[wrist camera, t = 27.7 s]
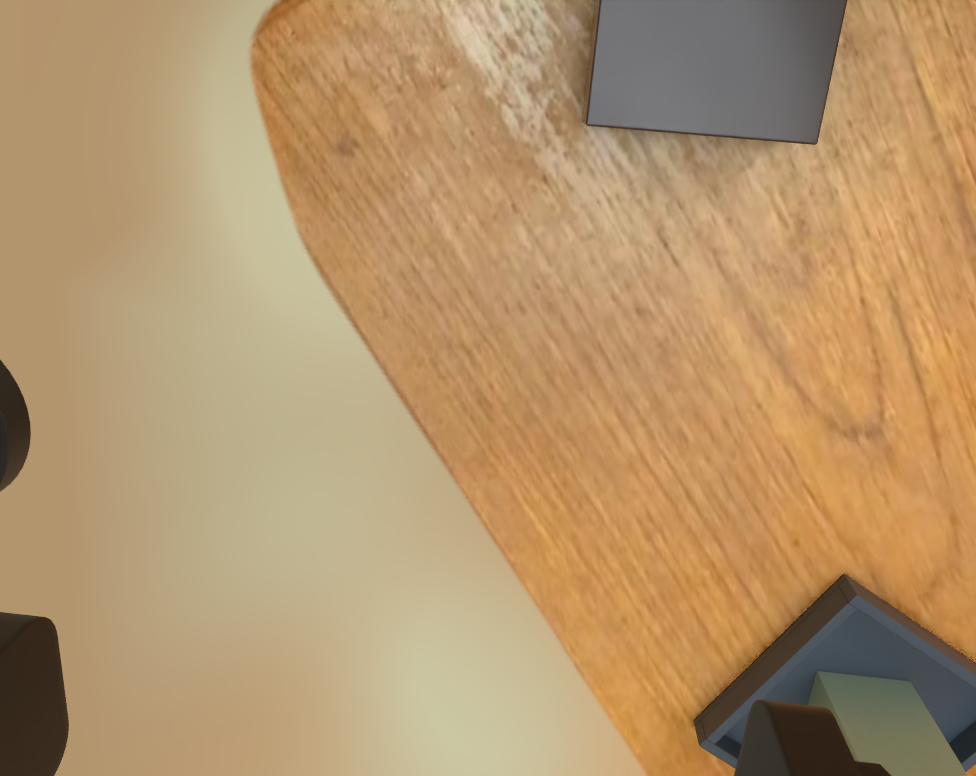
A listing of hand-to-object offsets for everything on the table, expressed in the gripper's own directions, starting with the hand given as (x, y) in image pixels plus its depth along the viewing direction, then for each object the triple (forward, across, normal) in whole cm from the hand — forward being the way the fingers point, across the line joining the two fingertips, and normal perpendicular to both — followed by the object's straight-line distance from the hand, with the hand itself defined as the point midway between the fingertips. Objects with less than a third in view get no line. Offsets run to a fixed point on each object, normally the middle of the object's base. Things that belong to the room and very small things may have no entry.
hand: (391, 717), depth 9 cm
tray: (+30, -21, +24) cm, 44 cm away
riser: (+30, -7, -9) cm, 32 cm away
